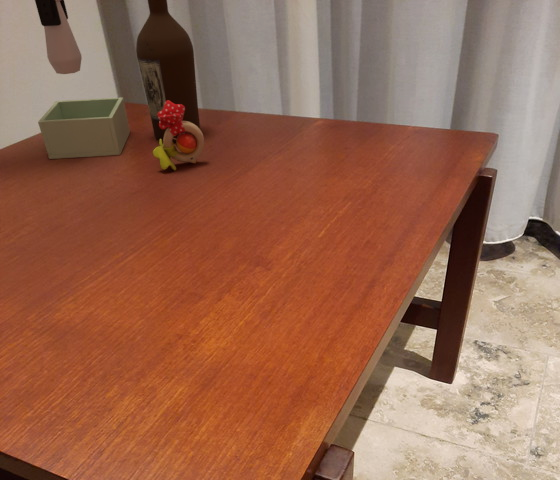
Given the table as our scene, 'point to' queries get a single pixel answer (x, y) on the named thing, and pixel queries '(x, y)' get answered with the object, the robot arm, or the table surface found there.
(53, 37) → the salt shaker
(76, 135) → the bin
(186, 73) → the olive oil
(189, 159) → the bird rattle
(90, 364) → the table surface
